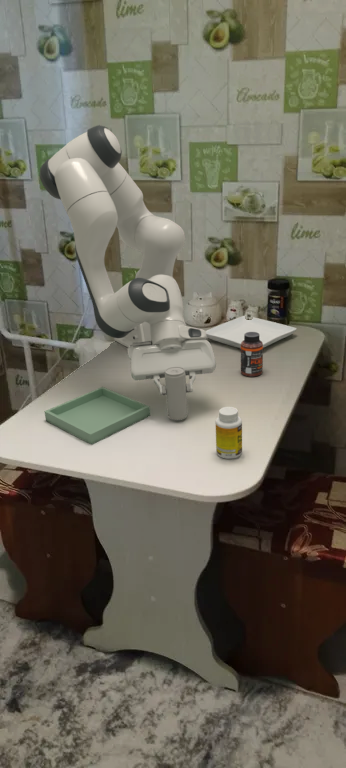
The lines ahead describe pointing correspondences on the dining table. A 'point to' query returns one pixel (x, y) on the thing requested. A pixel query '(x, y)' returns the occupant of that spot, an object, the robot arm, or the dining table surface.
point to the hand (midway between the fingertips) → (176, 393)
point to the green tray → (97, 414)
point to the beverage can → (176, 393)
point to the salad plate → (238, 327)
